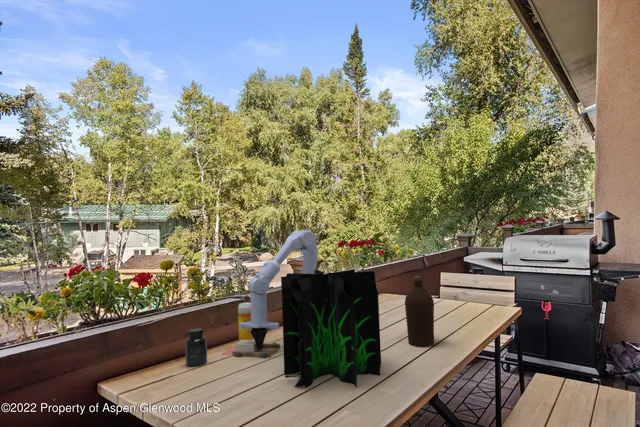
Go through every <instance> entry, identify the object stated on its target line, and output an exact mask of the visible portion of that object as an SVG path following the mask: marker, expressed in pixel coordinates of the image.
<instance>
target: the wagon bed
mask: <svg viewBox="0 0 640 427" xmlns="http://www.w3.org/2000/svg"><path fill="white" fill-rule="evenodd" d="M280 349H281V343H276V342H272V343H263V348H262V349H261V350H258V351H257V352H241V351H233V352H232V355H231V356H232V357H234V358H242V357H243V358H245V357H246V358H258V359H267V358H268V359H270V358H271V357H273V356H274V355H275V354H276V353H277V352H278V351H279V350H280Z"/></svg>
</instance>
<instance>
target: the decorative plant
mask: <svg viewBox="0 0 640 427" xmlns="http://www.w3.org/2000/svg"><path fill="white" fill-rule="evenodd" d="M375 273H376V272H375V271H374V270H373V271H372V270H371V271H358V272H356V271H355V268H354V269H348V270H343V271H342V270H341V271H337V272H335V271H334V272H328V273H327V272H326V273H325V272H324V271H323V270H322V271H321V270H318V269H316V270H314V274H301V273H292V272H288V273H286V275H284V276H280V284H281V305H282V306H281V308H282V309H281V311H282V312H281V314H282V336H283V337H282V339H283V340H282V341H283V374H284V375H285V376H284V378H285V379H287V378H297V377H299V380H298V381H297V382H296V383H295V384H294V388H296V387H297V388H298V387H304V389H307V388H309V387H311V386H312V385H313V384H314V381H315V380H317V379H319V378H320V377H325V376H333V377H334V378H337V379H338V380H339V381H340V382H341V383H345V384H348V385H349V384H350V385H353V386H354V387H355V388H358V383H357V381H358V380H357V379H358V375H359V376H364V375H373V376H379V377H380V376H381V367H382V352H381V351H382V349H381V329H380V328H381V326H380V306H379V305H380V304H379V302H380V301H379V290H378V288H377V282H376V275H375ZM296 374H298V375H297V376H295V375H296ZM291 375H293V376H291Z"/></svg>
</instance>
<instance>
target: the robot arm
mask: <svg viewBox="0 0 640 427" xmlns="http://www.w3.org/2000/svg"><path fill="white" fill-rule="evenodd" d="M317 238H318V237H317V236H316V235H315V233H313V231H312V230H309V229H306V230H294V231H292V232H291V233H290V235H288V236H287V239H286V240H285V242H284V243H283V245H282V246H281V248H280V249H279V251H278V252H277V253H276V254H275V256H274V258H273V259H271V260H270V259H269V260H267V261H265V262H264V263H263V264H262V265H263V266H262V268H261V269H260V270H259V271H258V272H256V273H255V276H254V277H252V278H251V279H249V281H248V285H247V286H246V287H247V289H248V292H250V303H251V322H241V323H240V329H243V328H251V329H252V330H251V331H250V332H251V334H252V336H253V338H254V339H253V340H254V341H255V343H256V346H257V350H261V349H262V348H263V343H264V342H265V339H266V337H267V336H266V335H267V333H268V331H269V330H276V331H277V330H279V329H280V322H273V321H268V306H267V305H268V303H267V302H268V301H267V292H268V291H269V290H270V284H271V283H272V282H273V279H275V277H276V276H277V275H278V273H279V272H280V271H281V264H283V262H284V261H285V260H286V259H287V258H288V256H290V255H291V254H292V252H293V251H296V250H299V251H300V252H301V253H302V254H303V260H302V267H301V273H300V274H314V270H316V271H317V264H318V257H319V249H318V245H317Z"/></svg>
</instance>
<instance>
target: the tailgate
mask: <svg viewBox="0 0 640 427" xmlns="http://www.w3.org/2000/svg"><path fill="white" fill-rule="evenodd" d="M233 351H236V346H230V347H229V348H228V349H226V350H225V351H223V352H222V353H220V355H225V356H226V355H227V356H232V352H233Z"/></svg>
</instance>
